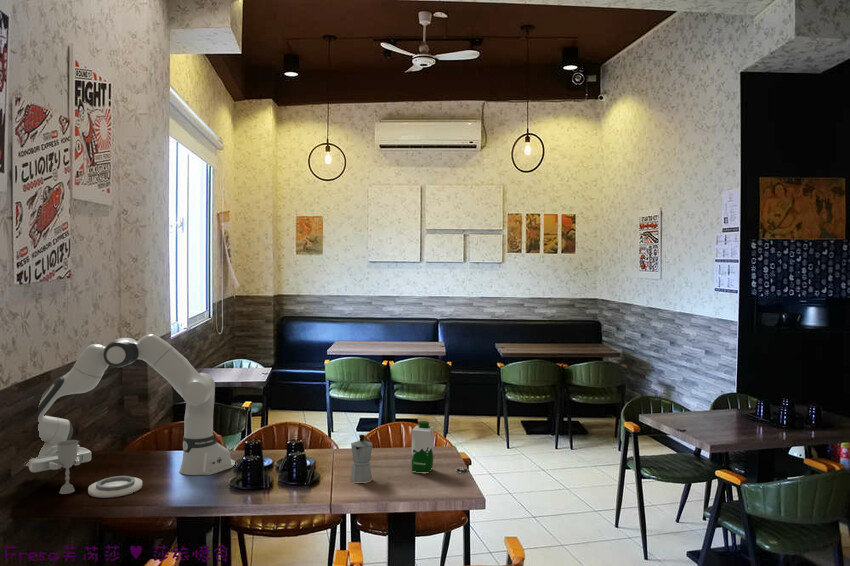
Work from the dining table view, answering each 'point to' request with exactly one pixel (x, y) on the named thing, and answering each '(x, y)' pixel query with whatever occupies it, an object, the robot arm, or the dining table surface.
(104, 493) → the carrier plate
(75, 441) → the chalice
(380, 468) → the dining table surface
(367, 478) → the coffee maker
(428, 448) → the milk carton
